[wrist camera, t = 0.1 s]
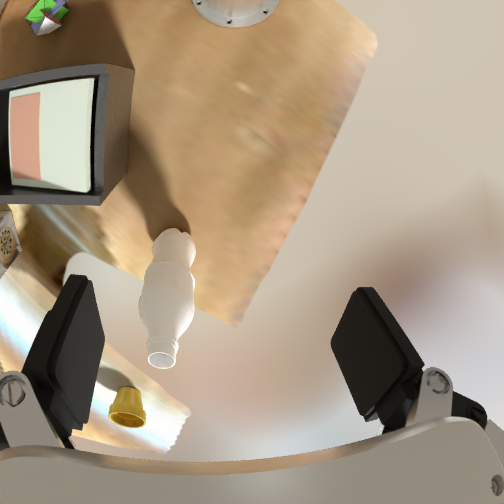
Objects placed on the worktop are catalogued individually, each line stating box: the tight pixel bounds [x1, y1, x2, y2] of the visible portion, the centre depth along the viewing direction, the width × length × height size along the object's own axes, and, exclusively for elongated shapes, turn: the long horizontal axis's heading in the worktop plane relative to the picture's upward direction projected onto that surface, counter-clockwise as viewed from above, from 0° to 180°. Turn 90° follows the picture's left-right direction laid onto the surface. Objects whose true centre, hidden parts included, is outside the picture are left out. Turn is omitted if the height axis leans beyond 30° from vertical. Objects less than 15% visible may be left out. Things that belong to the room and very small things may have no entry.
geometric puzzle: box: [25, 0, 69, 36], centre depth 22 cm, size 7×7×8 cm
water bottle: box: [139, 228, 196, 369], centre depth 38 cm, size 7×7×25 cm
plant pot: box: [109, 387, 146, 428], centre depth 67 cm, size 10×10×10 cm
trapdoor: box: [9, 78, 94, 192], centre depth 26 cm, size 13×14×1 cm
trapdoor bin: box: [0, 63, 135, 206], centre depth 29 cm, size 16×21×14 cm
